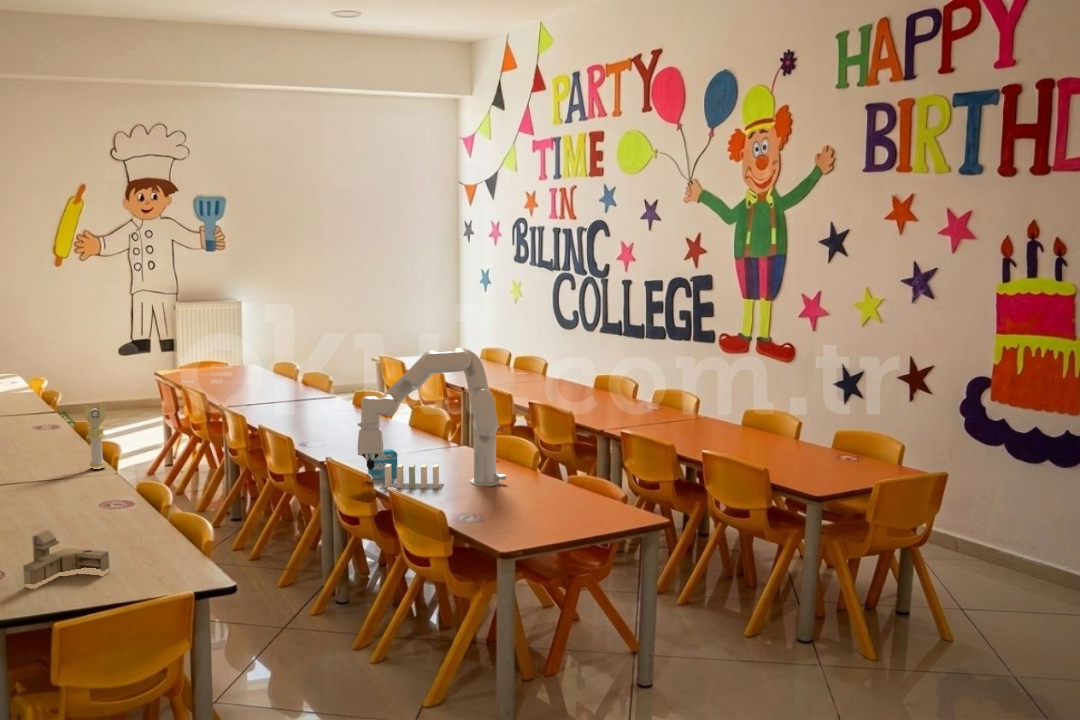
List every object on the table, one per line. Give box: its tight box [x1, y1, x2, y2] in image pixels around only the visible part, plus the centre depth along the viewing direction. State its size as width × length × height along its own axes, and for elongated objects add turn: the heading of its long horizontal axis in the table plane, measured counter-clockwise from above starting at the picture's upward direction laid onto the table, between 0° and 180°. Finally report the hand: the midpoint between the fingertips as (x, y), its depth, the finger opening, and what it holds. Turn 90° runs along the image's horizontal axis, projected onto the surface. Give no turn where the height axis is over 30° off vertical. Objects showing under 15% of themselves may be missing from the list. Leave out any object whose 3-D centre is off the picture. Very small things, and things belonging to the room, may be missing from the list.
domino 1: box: [384, 464, 393, 488], centre depth 423 cm, size 2×5×9 cm, turn 179°
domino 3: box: [408, 463, 416, 488], centre depth 423 cm, size 2×5×9 cm, turn 0°
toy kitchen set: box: [23, 529, 110, 585], centre depth 311 cm, size 18×17×15 cm
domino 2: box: [396, 463, 405, 488], centre depth 423 cm, size 2×5×9 cm, turn 179°
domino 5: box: [432, 463, 440, 488], centre depth 423 cm, size 2×5×9 cm, turn 179°
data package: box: [367, 449, 398, 480], centre depth 439 cm, size 12×4×12 cm, turn 115°
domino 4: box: [420, 463, 428, 488], centre depth 423 cm, size 2×5×9 cm, turn 179°
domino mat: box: [379, 482, 445, 491], centre depth 424 cm, size 26×10×1 cm, turn 89°
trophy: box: [83, 401, 106, 467], centre depth 453 cm, size 8×8×30 cm
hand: (370, 469), depth 423 cm, fingers closed
